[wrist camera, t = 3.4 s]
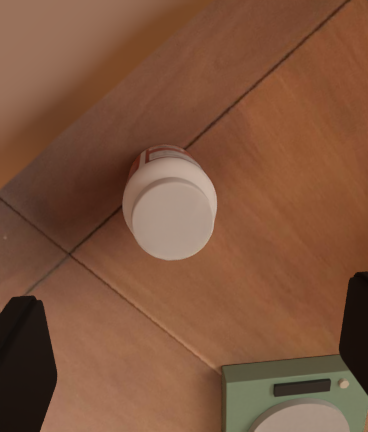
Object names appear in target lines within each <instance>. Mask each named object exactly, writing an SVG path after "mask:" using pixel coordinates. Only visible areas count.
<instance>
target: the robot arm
mask: <svg viewBox="0 0 368 432" xmlns="http://www.w3.org/2000/svg"><path fill="white" fill-rule="evenodd" d="M339 353H340V356H341V358H342V360H343V362H344V363H345V364H346V366H347V367H348V369H349V370H350V371H351V373H352V374H353V376H354V377H355V379H356V380H357V381H358V383H359V384H360V386H361V387H362V388H363V390H364V391H365V393H366V394H367V395H368V272H357V273H355V275H354V277H352V278H350V280H349V284H348V290H347V297H346V304H345V310H344V317H343V324H342V330H341V337H340V344H339ZM56 383H57V369H56V364H55V359H54V355H53V350H52V345H51V340H50V335H49V330H48V326H47V321H46V316H45V311H44V306H43V302H42V301H41V300H36V298H35V296H20V297H12V298H11V299H10V301H9V302H8V303H7V305H6V306H5V308H4V309H3V310H2V312H1V313H0V432H40V430H41V427H42V424H43V421H44V418H45V415H46V412H47V410H48V407H49V404H50V401H51V398H52V395H53V392H54V389H55V387H56Z"/></svg>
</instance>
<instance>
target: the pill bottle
mask: <svg viewBox="0 0 368 432" xmlns="http://www.w3.org/2000/svg"><path fill="white" fill-rule="evenodd" d="M216 211H217V197H216V192H215V189H214V186H213V184H212V182H211V180H210V179H209V177H208V176H207V175H206V173H205V172H204V171H203V170H202V168H201V167H200V166H199V164H198V163H197V162H196V160H195V159H194V158H193V157H192V156H191V155H190V154H189V153H188V152H187V151H185V150H184V149H182V148H180V147H177V146H174V145H168V144H162V145H156V146H152V147H150V148H148V149H146V150H145V151H143V152H142V153H141V154H140V155H139V156H138V157H137V158H136V160H135V161H134V163H133V164H132V166H131V169H130V172H129V176H128V180H127V184H126V187H125V190H124V195H123V215H124V218H125V221H126V223H127V226H128V227H129V229H130V231H131V232H132V233H133V235H134V237H135V239H136V241H137V243H138V244H139V245H140V247H141V248H142V249H143V250H144V251H146V252H147V253H148V254H150V255H152V256H154V257H156V258H159V259H163V260H180V259H185V258H187V257H190V256H192V255H194V254H195V253H197V252H198V251H200V250H201V249H202V248H203V247H204V246H205V244H206V243H207V242H208V240H209V238H210V236H211V234H212V231H213V227H214V219H215V216H216Z"/></svg>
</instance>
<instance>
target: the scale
mask: <svg viewBox="0 0 368 432" xmlns="http://www.w3.org/2000/svg"><path fill="white" fill-rule="evenodd" d="M367 410H368V395H367V394H366V393H365V391H364V390H363V388H362V387H361V386H360V384H359V383H358V381H357V380H356V379H355V377H354V376H353V374H352V373H351V371H350V370H349V369H348V367H347V366H346V364H345V363H344V362H343V360H342V358H341V356H340V355H331V356H321V357H310V358H300V359H290V360H280V361H269V362H259V363H249V364H239V365H228V366H222V432H363V430H364V425H365V420H366V415H367Z"/></svg>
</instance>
